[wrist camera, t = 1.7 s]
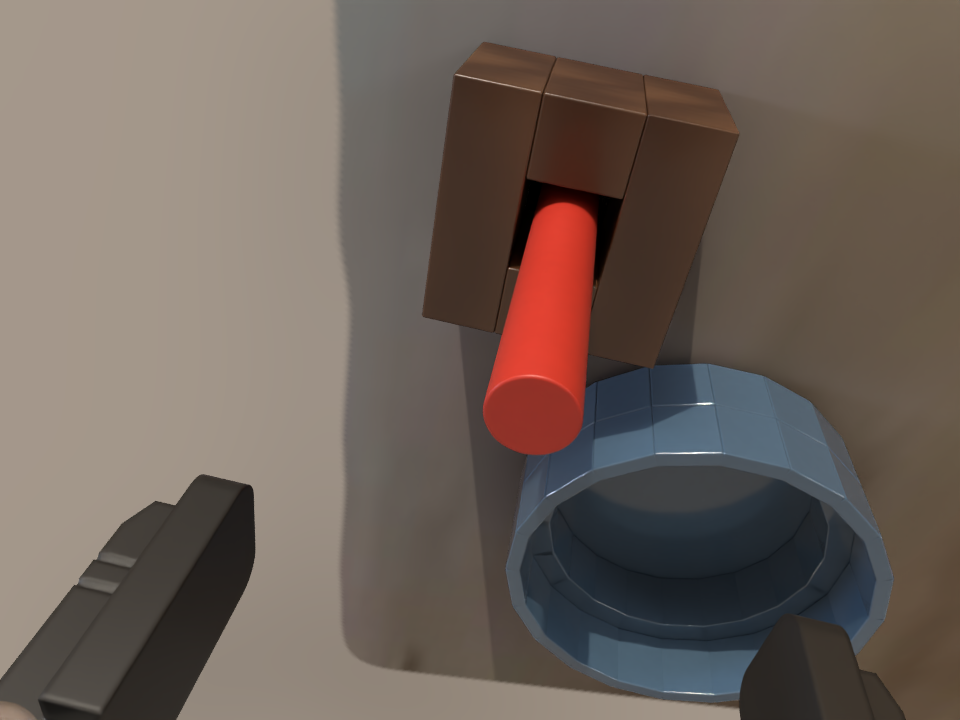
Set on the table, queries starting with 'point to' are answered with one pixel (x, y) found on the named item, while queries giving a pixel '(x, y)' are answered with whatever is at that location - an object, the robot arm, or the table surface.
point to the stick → (547, 329)
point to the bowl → (692, 532)
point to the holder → (581, 166)
